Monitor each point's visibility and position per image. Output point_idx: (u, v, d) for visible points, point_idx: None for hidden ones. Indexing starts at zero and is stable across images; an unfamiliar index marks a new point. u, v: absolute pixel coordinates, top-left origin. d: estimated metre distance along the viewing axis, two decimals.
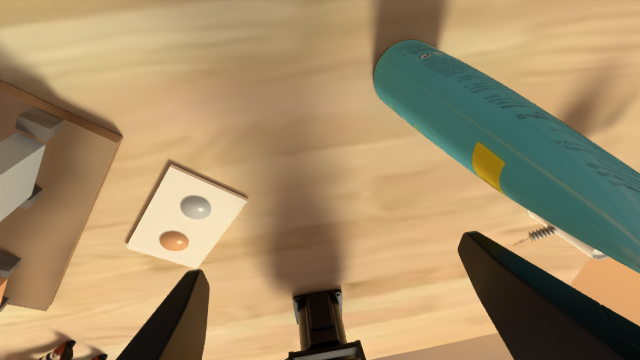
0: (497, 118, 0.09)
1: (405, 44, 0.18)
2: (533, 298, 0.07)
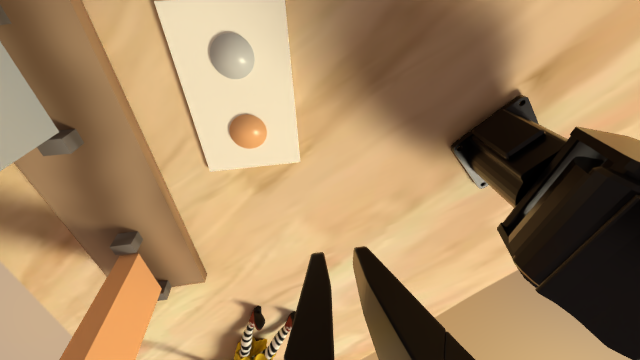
0: None
1: None
2: (387, 322, 0.07)
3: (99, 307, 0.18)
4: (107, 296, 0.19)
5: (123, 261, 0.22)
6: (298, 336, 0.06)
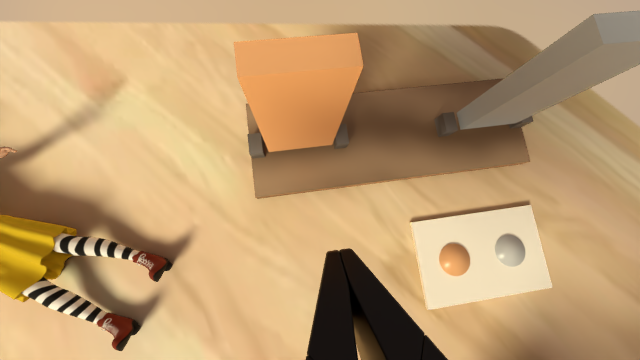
0: None
1: None
2: (367, 326, 0.07)
3: None
4: None
5: None
6: (320, 332, 0.06)
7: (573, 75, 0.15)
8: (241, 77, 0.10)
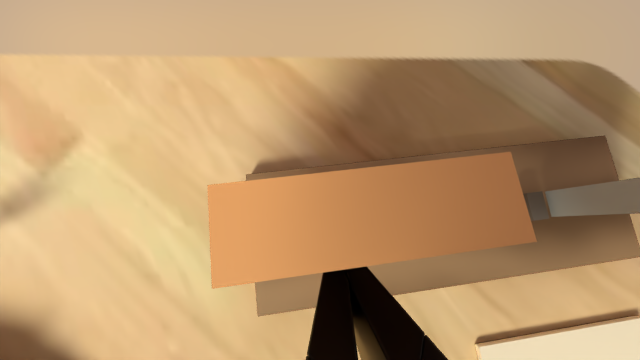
0: None
1: None
2: (367, 326, 0.07)
3: None
4: None
5: None
6: (320, 332, 0.06)
7: None
8: (223, 286, 0.04)
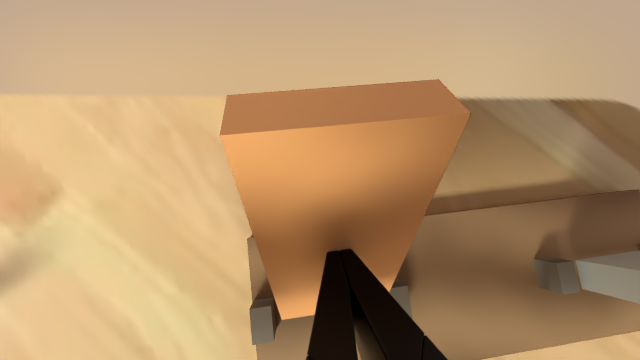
0: None
1: None
2: (367, 326, 0.07)
3: None
4: None
5: None
6: (320, 332, 0.06)
7: None
8: (228, 137, 0.05)
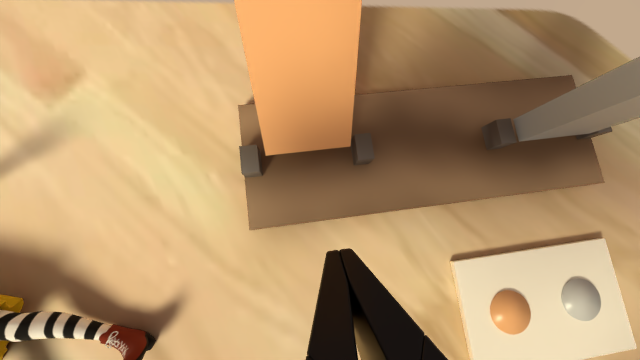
0: None
1: None
2: (367, 326, 0.07)
3: None
4: None
5: None
6: (320, 333, 0.06)
7: None
8: None
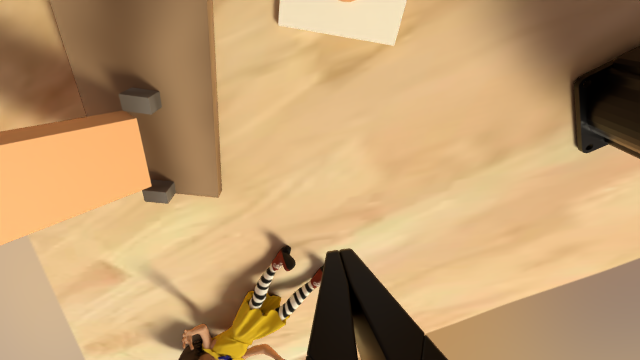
0: None
1: None
2: (367, 326, 0.07)
3: (29, 132, 0.13)
4: (51, 129, 0.14)
5: (116, 115, 0.16)
6: (319, 332, 0.06)
7: None
8: None
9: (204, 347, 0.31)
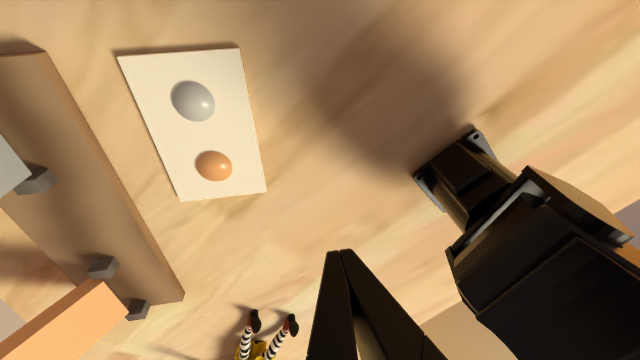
0: None
1: None
2: (367, 326, 0.07)
3: (34, 324, 0.20)
4: (48, 316, 0.21)
5: (89, 283, 0.23)
6: (320, 332, 0.06)
7: None
8: None
9: None
